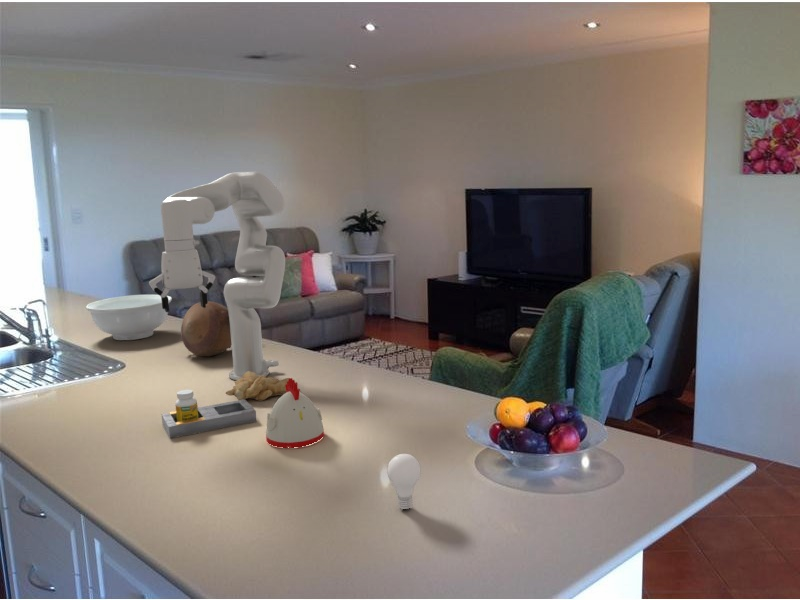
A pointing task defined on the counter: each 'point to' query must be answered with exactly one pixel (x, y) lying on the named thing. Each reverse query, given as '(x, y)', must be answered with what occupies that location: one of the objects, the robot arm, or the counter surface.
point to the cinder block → (210, 418)
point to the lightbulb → (404, 477)
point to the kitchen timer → (294, 420)
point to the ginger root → (257, 387)
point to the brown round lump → (206, 329)
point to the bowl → (128, 315)
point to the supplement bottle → (186, 406)
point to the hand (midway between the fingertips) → (185, 309)
